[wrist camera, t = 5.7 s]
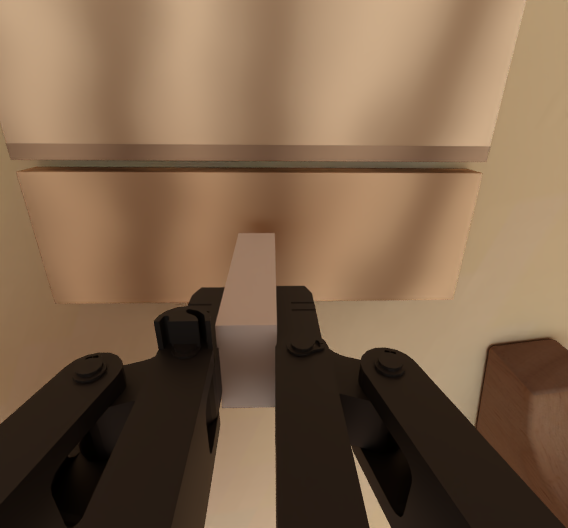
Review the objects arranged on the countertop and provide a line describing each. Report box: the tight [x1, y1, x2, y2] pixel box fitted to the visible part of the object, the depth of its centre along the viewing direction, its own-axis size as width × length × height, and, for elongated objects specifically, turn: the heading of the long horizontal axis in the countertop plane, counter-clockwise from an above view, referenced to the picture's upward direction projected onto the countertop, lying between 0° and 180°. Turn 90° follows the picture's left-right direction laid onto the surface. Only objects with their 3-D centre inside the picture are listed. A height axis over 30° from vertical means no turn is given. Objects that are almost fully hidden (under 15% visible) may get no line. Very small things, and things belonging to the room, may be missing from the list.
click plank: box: [16, 167, 483, 304], centre depth 18 cm, size 22×7×2 cm, turn 89°
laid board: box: [0, 0, 526, 162], centre depth 15 cm, size 22×6×2 cm, turn 89°
